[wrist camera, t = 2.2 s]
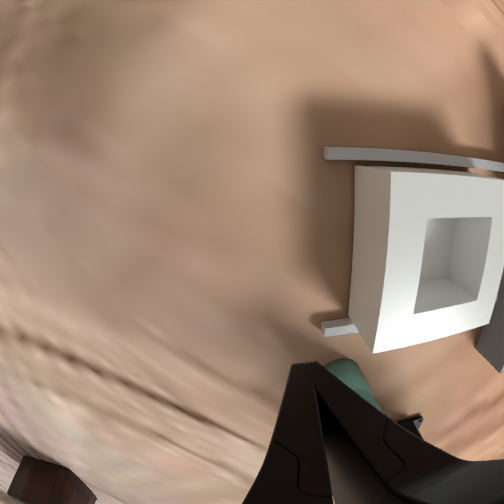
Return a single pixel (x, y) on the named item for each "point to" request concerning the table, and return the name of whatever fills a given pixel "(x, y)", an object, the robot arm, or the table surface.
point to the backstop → (500, 325)
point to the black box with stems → (47, 484)
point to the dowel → (352, 378)
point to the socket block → (424, 253)
